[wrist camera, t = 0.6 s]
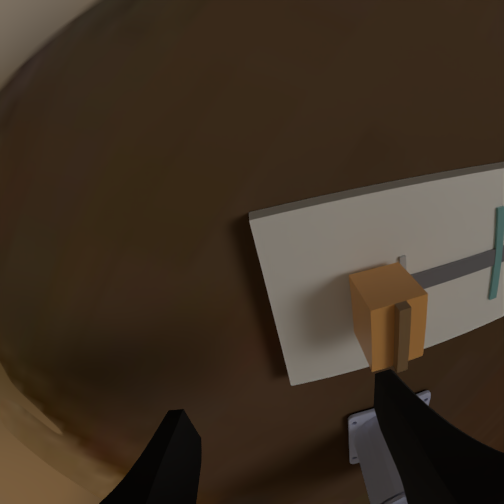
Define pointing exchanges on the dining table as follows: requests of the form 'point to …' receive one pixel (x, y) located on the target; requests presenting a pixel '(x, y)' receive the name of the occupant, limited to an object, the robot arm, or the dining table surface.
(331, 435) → the dining table surface
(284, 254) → the fader console
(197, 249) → the dining table surface
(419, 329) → the fader tab
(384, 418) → the robot arm
